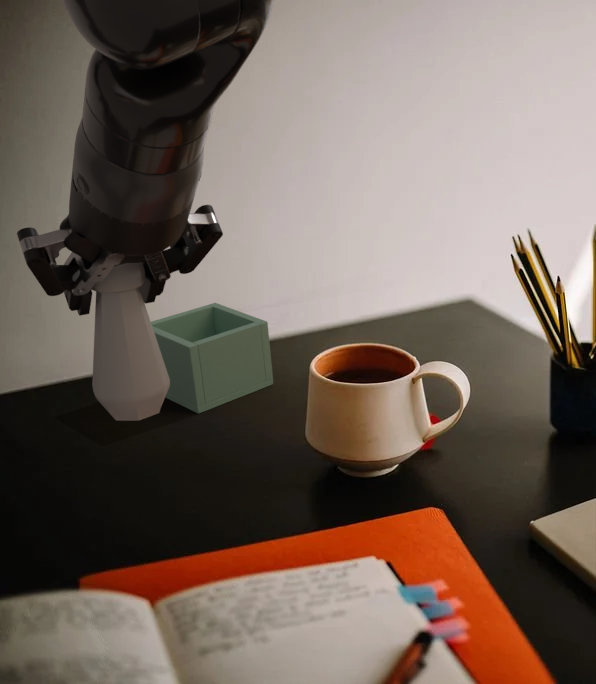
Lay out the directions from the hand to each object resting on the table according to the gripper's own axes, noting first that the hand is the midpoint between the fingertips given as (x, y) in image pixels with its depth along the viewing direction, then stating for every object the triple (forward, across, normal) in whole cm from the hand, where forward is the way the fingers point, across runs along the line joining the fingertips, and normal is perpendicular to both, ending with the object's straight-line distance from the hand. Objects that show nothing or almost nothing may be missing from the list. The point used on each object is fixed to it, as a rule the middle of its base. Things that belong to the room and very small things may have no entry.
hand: (113, 298), depth 72 cm
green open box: (+30, -14, -2) cm, 34 cm away
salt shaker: (+5, 0, +8) cm, 9 cm away
